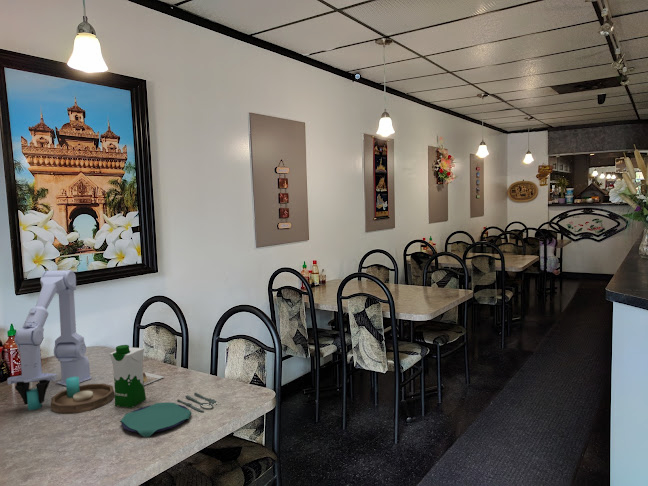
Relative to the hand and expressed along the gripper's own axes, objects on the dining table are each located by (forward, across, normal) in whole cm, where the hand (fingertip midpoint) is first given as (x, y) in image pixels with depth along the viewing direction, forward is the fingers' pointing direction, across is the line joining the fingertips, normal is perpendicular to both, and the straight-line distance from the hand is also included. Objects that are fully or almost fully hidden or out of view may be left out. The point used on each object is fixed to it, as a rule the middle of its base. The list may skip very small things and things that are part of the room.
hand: (34, 402), depth 159 cm
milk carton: (+2, +32, -3) cm, 32 cm away
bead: (+2, 0, 0) cm, 2 cm away
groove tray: (+2, +15, +2) cm, 15 cm away
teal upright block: (+1, +10, +6) cm, 12 cm away
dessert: (+2, +30, +18) cm, 35 cm away
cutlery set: (+2, +47, -16) cm, 50 cm away
